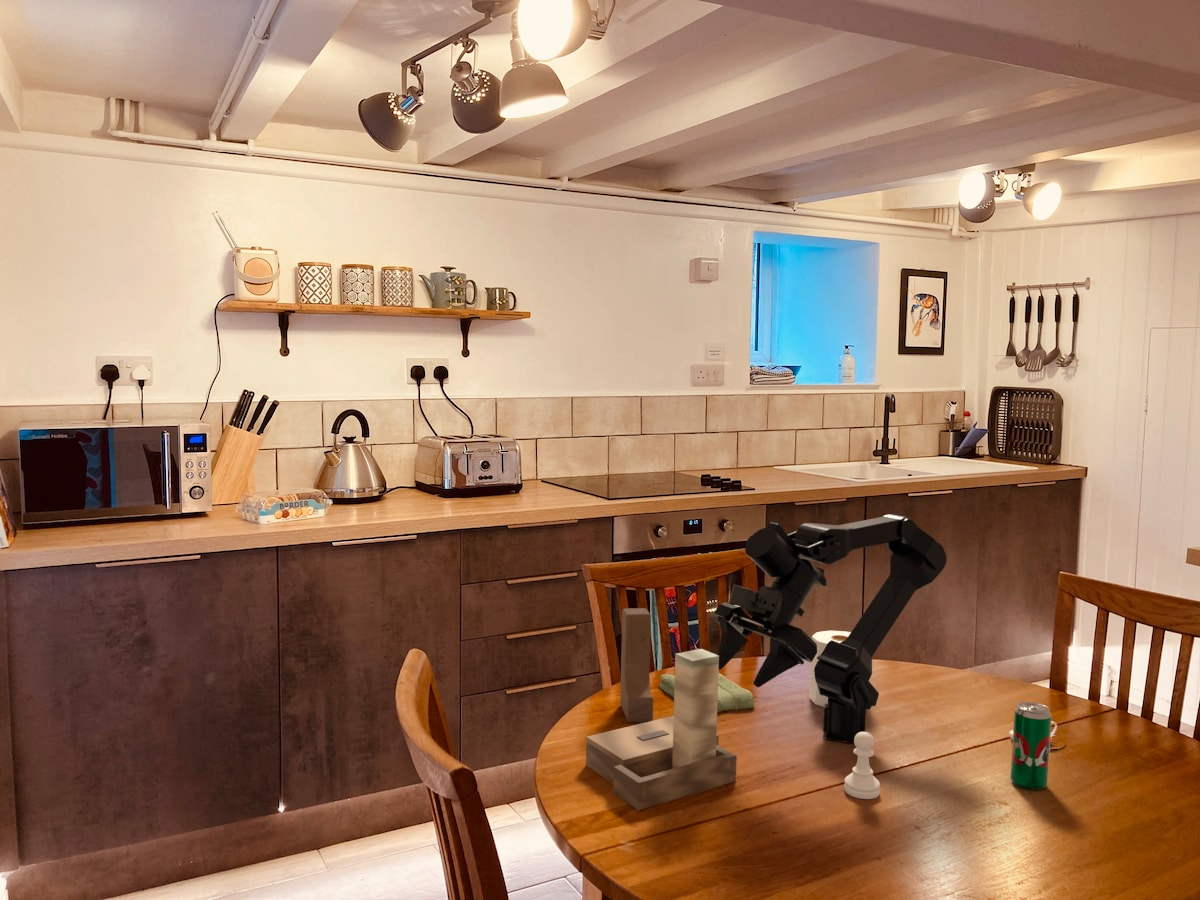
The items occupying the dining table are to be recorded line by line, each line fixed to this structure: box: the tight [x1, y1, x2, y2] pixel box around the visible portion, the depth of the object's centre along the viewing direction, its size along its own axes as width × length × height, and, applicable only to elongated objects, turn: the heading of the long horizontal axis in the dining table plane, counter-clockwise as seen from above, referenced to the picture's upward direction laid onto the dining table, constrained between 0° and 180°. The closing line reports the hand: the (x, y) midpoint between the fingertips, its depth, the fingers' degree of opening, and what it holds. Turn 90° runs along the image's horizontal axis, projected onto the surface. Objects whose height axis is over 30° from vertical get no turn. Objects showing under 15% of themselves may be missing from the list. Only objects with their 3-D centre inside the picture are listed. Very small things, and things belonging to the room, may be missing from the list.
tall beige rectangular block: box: [672, 648, 720, 769], centre depth 140 cm, size 5×4×19 cm
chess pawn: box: [843, 731, 881, 800], centre depth 137 cm, size 5×5×9 cm
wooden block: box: [619, 607, 654, 724], centre depth 166 cm, size 9×4×18 cm, turn 7°
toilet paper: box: [809, 630, 852, 708], centre depth 175 cm, size 10×10×12 cm
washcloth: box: [659, 672, 755, 713], centre depth 176 cm, size 13×18×3 cm
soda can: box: [1010, 701, 1053, 791], centre depth 141 cm, size 5×5×12 cm
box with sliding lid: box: [585, 715, 737, 811], centre depth 142 cm, size 20×16×5 cm
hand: (735, 676), depth 145 cm, fingers open, 9 cm apart
